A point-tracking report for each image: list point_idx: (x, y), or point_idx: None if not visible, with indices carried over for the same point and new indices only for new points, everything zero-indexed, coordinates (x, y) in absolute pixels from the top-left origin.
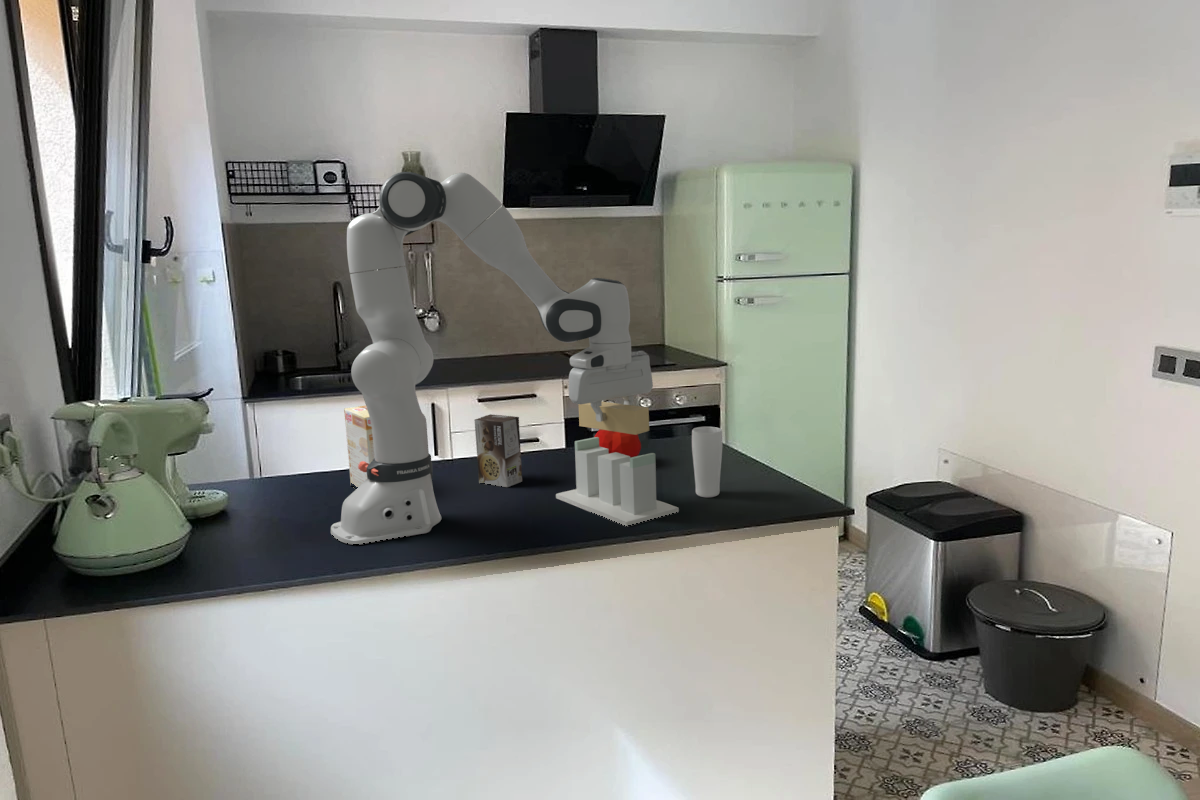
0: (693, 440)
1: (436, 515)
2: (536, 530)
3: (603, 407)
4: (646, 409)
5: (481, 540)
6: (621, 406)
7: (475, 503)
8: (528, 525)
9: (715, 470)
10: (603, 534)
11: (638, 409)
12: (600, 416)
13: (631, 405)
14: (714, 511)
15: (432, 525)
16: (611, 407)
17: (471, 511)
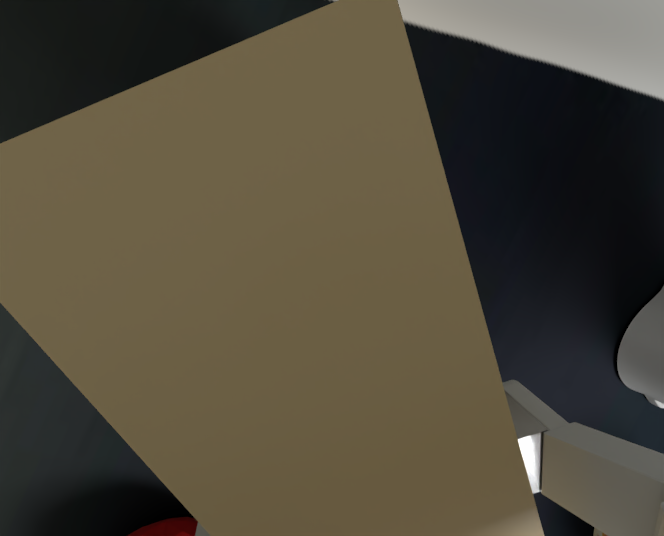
0: None
1: (657, 318)
2: (534, 177)
3: (538, 532)
4: (11, 150)
5: (638, 177)
6: (369, 496)
7: (537, 392)
8: (530, 218)
9: None
10: (435, 55)
11: (236, 111)
12: (545, 406)
13: (206, 507)
14: (49, 45)
15: (660, 294)
16: (500, 487)
17: (564, 351)
